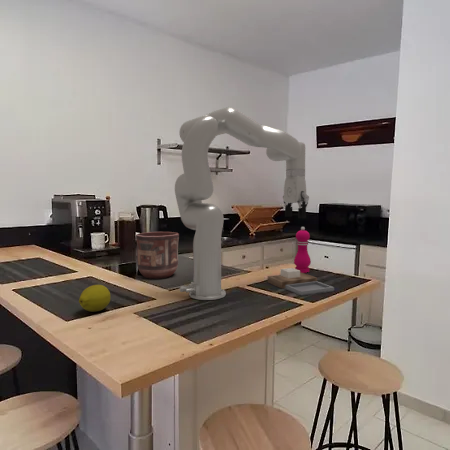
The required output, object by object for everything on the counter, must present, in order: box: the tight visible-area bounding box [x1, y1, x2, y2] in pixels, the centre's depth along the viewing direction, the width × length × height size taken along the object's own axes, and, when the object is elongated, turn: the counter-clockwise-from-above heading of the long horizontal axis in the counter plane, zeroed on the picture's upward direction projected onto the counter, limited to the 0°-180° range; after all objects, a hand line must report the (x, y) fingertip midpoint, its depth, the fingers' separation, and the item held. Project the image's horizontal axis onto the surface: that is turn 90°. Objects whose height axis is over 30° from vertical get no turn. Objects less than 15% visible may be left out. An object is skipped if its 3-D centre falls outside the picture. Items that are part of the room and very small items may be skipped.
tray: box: [284, 280, 335, 297], centre depth 136 cm, size 14×10×2 cm
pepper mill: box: [293, 226, 312, 274], centre depth 166 cm, size 7×7×20 cm
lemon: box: [78, 284, 112, 313], centre depth 113 cm, size 11×8×8 cm
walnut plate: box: [267, 273, 318, 289], centre depth 146 cm, size 16×10×2 cm, turn 114°
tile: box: [279, 267, 300, 278], centre depth 147 cm, size 6×6×2 cm
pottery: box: [135, 231, 180, 280], centre depth 160 cm, size 18×18×18 cm
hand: (295, 217), depth 151 cm, fingers open, 9 cm apart
